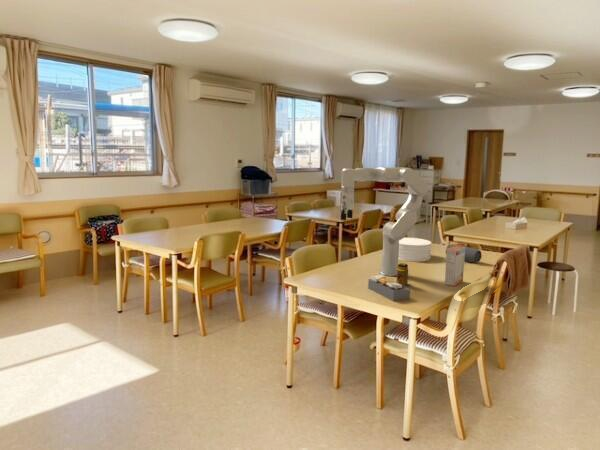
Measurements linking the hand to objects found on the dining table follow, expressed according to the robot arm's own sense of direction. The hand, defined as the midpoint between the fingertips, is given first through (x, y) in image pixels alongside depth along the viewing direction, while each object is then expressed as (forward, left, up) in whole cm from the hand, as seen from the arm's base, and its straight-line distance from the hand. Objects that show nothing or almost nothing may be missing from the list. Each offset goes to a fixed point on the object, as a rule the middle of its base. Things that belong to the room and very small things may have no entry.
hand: (346, 218), depth 267 cm
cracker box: (-50, +37, -34) cm, 71 cm away
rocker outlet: (-2, +48, -28) cm, 55 cm away
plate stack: (-68, -27, -34) cm, 81 cm away
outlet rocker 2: (-2, +41, -28) cm, 49 cm away
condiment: (-20, +30, -34) cm, 50 cm away
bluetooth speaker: (-96, -5, -34) cm, 102 cm away
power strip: (-3, +41, -34) cm, 53 cm away
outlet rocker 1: (-2, +34, -28) cm, 44 cm away
